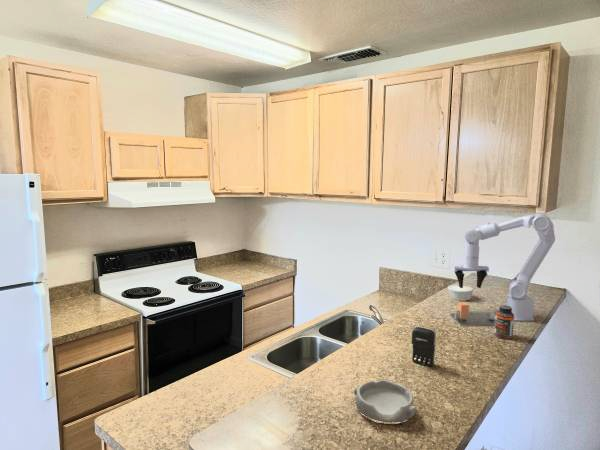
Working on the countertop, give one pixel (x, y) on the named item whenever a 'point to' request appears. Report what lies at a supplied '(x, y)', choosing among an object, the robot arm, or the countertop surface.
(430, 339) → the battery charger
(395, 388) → the dish
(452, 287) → the ramekin
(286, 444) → the countertop surface
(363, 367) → the countertop surface
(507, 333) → the supplement bottle
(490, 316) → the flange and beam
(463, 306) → the block
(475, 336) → the countertop surface
